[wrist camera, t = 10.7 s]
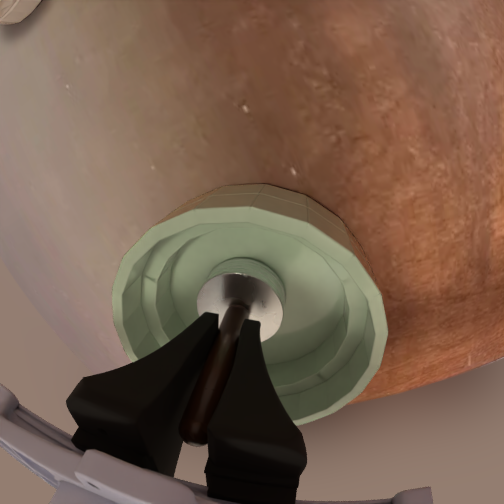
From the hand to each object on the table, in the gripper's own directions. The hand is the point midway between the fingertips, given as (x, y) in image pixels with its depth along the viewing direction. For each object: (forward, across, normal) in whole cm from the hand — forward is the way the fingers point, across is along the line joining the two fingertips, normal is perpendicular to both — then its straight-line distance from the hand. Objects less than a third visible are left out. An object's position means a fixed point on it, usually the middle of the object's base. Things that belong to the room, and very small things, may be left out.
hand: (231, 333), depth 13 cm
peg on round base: (+3, 0, 0) cm, 3 cm away
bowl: (+4, 0, 0) cm, 5 cm away
